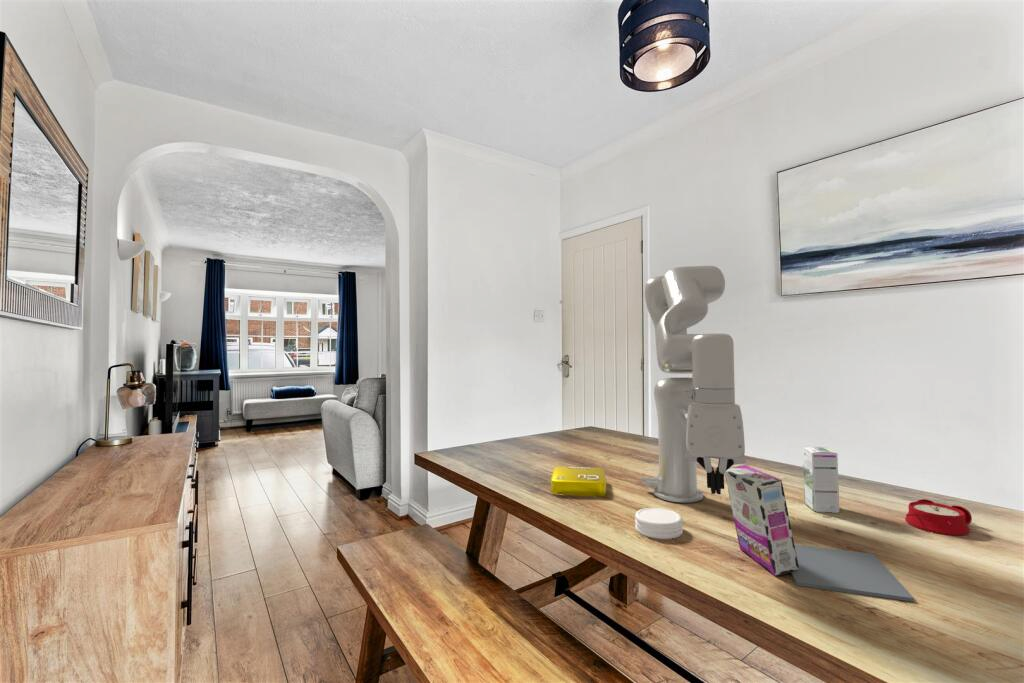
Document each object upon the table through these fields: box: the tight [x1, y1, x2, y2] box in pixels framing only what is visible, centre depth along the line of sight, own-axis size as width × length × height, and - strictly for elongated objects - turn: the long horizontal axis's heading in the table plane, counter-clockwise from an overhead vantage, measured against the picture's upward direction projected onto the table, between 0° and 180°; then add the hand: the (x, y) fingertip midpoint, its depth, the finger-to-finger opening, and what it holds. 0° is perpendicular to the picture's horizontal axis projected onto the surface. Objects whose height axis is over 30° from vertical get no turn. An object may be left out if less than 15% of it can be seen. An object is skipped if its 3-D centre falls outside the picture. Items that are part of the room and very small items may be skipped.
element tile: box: [550, 466, 607, 498], centre depth 132 cm, size 15×15×5 cm
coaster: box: [634, 507, 684, 540], centre depth 102 cm, size 10×10×4 cm
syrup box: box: [802, 446, 840, 514], centre depth 113 cm, size 6×6×14 cm
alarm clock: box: [904, 498, 973, 536], centre depth 102 cm, size 10×6×15 cm
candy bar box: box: [724, 464, 799, 577], centre depth 86 cm, size 11×5×16 cm, turn 5°
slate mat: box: [790, 544, 915, 603], centre depth 83 cm, size 16×16×1 cm
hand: (715, 491), depth 89 cm, fingers closed
